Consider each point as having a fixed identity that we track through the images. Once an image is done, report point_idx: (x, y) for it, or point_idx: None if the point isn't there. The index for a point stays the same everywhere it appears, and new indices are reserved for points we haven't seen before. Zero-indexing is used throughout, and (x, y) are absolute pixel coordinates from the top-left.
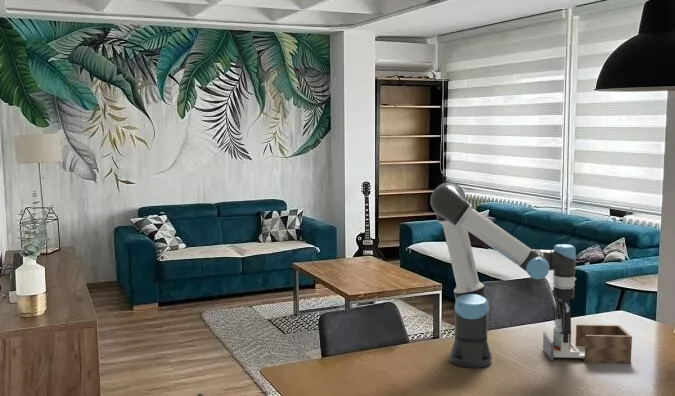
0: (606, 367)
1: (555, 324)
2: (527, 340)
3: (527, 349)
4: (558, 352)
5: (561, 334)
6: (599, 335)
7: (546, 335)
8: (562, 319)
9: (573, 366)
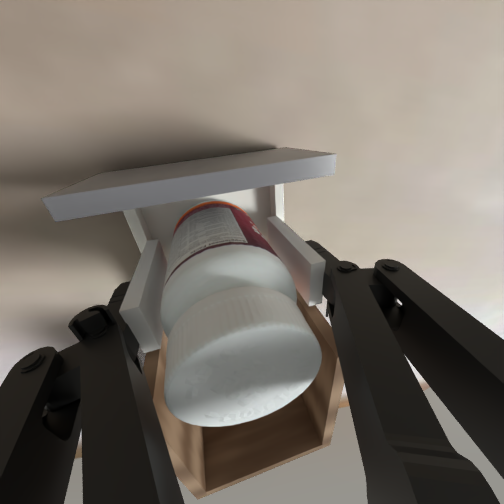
0: None
1: (227, 294)
2: (419, 76)
3: (284, 48)
4: (132, 226)
5: (124, 304)
6: (169, 453)
7: (253, 171)
8: (89, 493)
9: (80, 271)
